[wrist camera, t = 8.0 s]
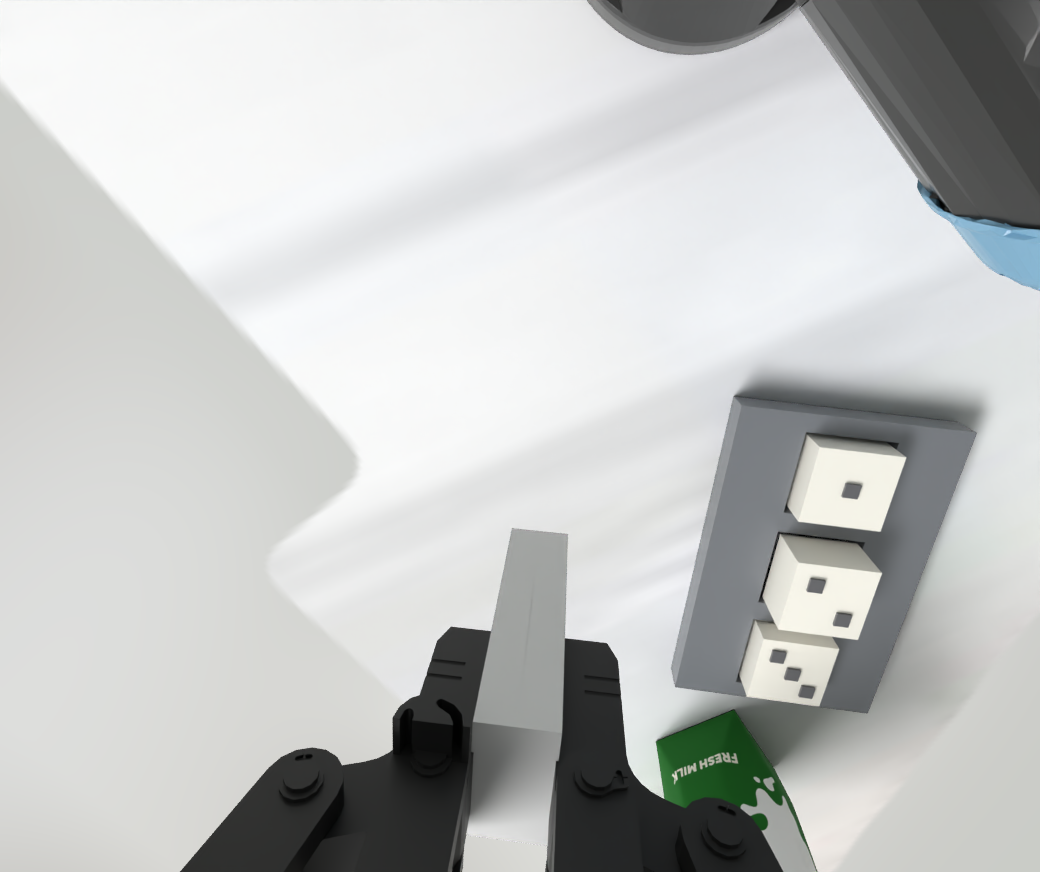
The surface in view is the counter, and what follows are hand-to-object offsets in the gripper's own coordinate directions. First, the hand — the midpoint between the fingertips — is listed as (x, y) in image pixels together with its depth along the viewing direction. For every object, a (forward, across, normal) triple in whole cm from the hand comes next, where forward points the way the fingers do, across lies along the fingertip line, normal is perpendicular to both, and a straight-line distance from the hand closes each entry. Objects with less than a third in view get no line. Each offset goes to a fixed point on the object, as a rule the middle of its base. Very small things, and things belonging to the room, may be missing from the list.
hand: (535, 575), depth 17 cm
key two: (+23, +18, -12) cm, 32 cm away
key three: (+24, +18, -19) cm, 36 cm away
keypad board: (+24, +18, -12) cm, 33 cm away
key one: (+24, +18, -5) cm, 31 cm away
